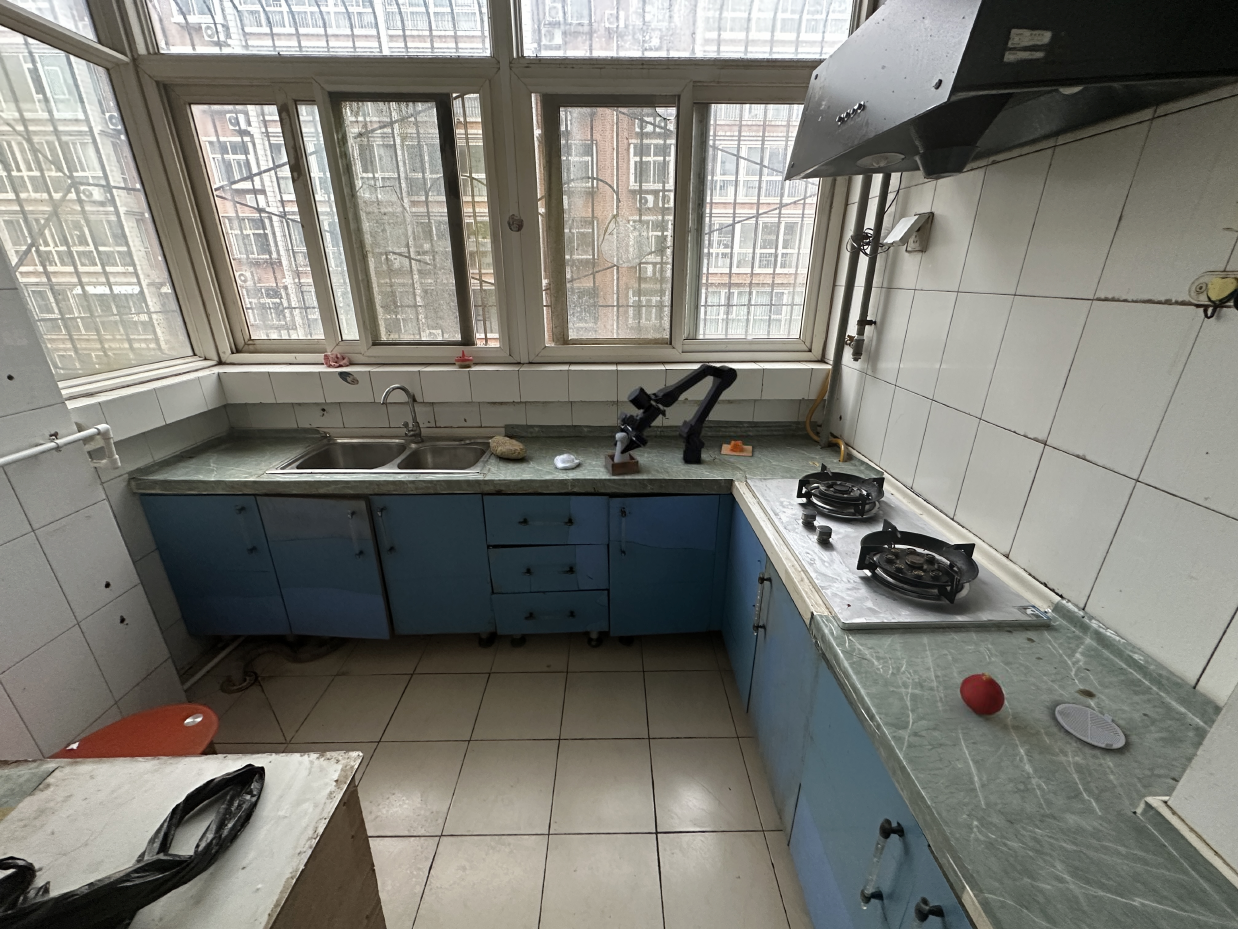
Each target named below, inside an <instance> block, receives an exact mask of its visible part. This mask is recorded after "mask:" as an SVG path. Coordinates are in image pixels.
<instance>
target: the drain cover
mask: <svg viewBox="0 0 1238 929" xmlns="http://www.w3.org/2000/svg"><path fill="white" fill-rule="evenodd" d="M1054 714H1055V718H1056V720H1057V722H1058V723H1059V724H1060V725H1061V726H1062V727H1063V728H1064V729H1065V730H1066V731H1068V732H1069V733H1070V734H1072V735H1073V736H1074V737H1076V738H1078V739H1079V740H1081V741H1084V742H1086V743H1088V744H1090V745H1092V746H1095V747H1098V748H1102V749H1108V750H1116V749H1121V748H1122V747H1124V745H1125V743H1126V737H1125V734H1124V733H1123V731H1122V730H1121V729H1120V728H1119V726H1118V725H1117V724H1116V723H1114V722H1113V716H1111V715H1109V714H1108V713H1105V714H1104V715H1103V714H1101V713H1099V712H1098V711H1095V710H1094V709H1091V708H1088V707H1086V706H1083V705H1079V704H1074V703H1062V704H1059V705H1058V706H1056V707H1055V712H1054Z"/></svg>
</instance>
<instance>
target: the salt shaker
mask: <svg viewBox="0 0 1238 929" xmlns="http://www.w3.org/2000/svg"><path fill="white" fill-rule="evenodd" d="M615 440H618V443H617V446H616V448H615V453H616V454H615V459H614V462H624V461H630V458H629V453H628V452H627V453H625V454H621V453H620V452H621V450H622V449H623V447H624V446H625V445H626V443H627V441H628V440H629V439H628V435H627V434H626V433H619V432H618V433H616V434H615Z"/></svg>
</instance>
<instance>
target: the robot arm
mask: <svg viewBox="0 0 1238 929" xmlns="http://www.w3.org/2000/svg"><path fill="white" fill-rule="evenodd" d="M707 377H712V381H711V382H712V383H711V386H710V388H709V390H708V391H707V393H706V395H705V396H704V397H703V399H702V401H701V403H700V404H699V406H698V407H697V409H696V410H695V412H694V414H693V416H692V418H690V419H689V420H686V419H684V420H683V421H682V423H681V425H680V427H678V429H679V431H678V437H679V439H681V440H682V443H683V444H684V447H683V448H682V461H684V462H683V463H684V464H697V465H698V464H700V465H701V464H703V462H702V451H703V450H702V449H704V448H705V445H706V442H704V441H703V440H702V439H701V435H702V434H703V428H704V424H705V422H706V421H707V419H708V417H709V415H710V414H711V412H712V411H713V409H714V408H715V406H716V404H717V403H718V401H719V399H720V398H721V396H722V395H723V393H724V392H725V391H727V390H728V389H729V388H730V387H732V385H733V384H734V383H735V382H736V381H737V379H738V371H737V370H736V368H733V367H731V366H729V365H725V364H722V365H719V366H717V365H712V364H708V363H706V362H705V363H702V364H700V366H698V367H697V368H695V369H694V370H692V371H691V372H689V373H688V374H687V375H685V376H683V377H682V378H681V379H680V380H678V381H676V382H675V383H673V384H670V385H669V384H668V385H666V386H664V387H661V388H660V389H658V390H656V392H651V393H648V392H647V391H646V389H645V388H644V387H643V386H641V385H639V386H638V388H635V389H634V390H631V391H630V393H629V394H628V396H627V397H626V400H627V401H628V402H629V403H630V404H631V405H632V406H633V407H634V408H635V409H637V411H641V410H642V411H641V412H639V413H635V414H632V413H630V412H629V413H628V412H625V411H622V410H621V411H620V412H619V415H618V417H617V420H619V422H618V427H619V432H618V433H626V434H627V435H628V439H627V441H626V445H625V446H624V447H623V449H622V450H621V452H620V453H621V454H625V453H627V452H632V451H634V450H638V449H640V448H641V449H642V448H645V447H646V446H647V445H649V440H648V438H646V436H645V434H644V433H645V432H647V430H648V429H652V427H653V426H652V424H653V423H654V422H655V421H656V420H657V419H658V418H659V417H660V416H662V417H664V418H666V417H667V409H668V408H671V407H673V405H675V403H677V402H678V401H679V399H680V398H681V396H682V395H683V394H684V393H686V392H687V391H689V390H690V389H692V388H693V387H695V386H696V385H697V384H699V383H700V382H702V381H703V380H705V379H706V378H707ZM652 402H653V403H654V404H653V403H652ZM661 407H663V408H661ZM665 408H666V409H665ZM617 443H618V440H616V439H615V441H614V443H613V446H614V447H617Z"/></svg>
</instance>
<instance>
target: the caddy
mask: <svg viewBox="0 0 1238 929" xmlns="http://www.w3.org/2000/svg"><path fill="white" fill-rule="evenodd" d="M628 453H629V458H630V461H624V462H614V459H615V454H616V452H614V453H604V467H605V468H606V470H607V471H608V473H609V474H610V475H611V476H617V475H618V476H620V475H628V474H636V473H639V468H640V467H639V466H640V465H639V464H640V460H639V459H638V458H637V456H635V455H634V454H633V452H632V451H629V452H628Z"/></svg>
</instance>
